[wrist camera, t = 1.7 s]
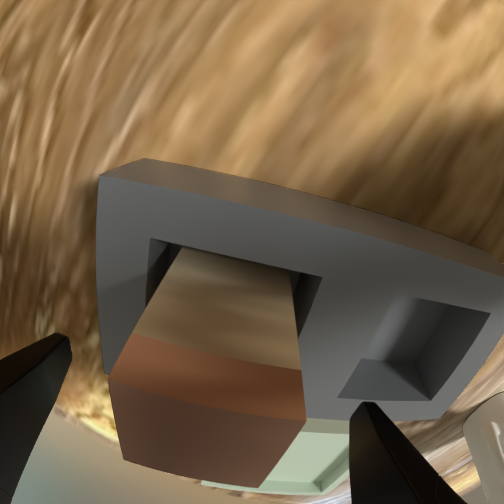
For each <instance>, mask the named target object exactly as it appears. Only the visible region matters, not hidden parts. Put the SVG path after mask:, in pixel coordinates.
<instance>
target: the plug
mask: <svg viewBox="0 0 504 504" xmlns="http://www.w3.org/2000/svg"><path fill="white" fill-rule="evenodd" d="M108 385H109V391H110V397H111V403H112V409H113V414H114V419H115V424H116V429H117V434H118V438H119V442H120V447H121V451H122V455H123V459H124V460H126V461H129V462H132V463H135V464H139V465H142V466H145V467H149V468H152V469H156V470H160V471H163V472H167V473H171V474H176V475H180V476H184V477H189V478H194V479H199V480H204V481H209V482H215V483H221V484H228V485H235V486H242V487H251V488H259V487H260V485H261V484H262V483H263V482H264V480H265V479H266V478H267V476H268V475H269V474H270V473H271V471H272V470H273V469H274V467H275V466H276V465H277V463H278V462H279V460H280V459H281V458H282V456H283V455H284V454H285V452H286V451H287V449H288V448H289V447H290V445H291V444H292V442H293V441H294V439H295V438H296V436H297V435H298V434H299V432H300V431H301V429H302V428H303V426H304V425H305V423H306V421H307V419H306V409H305V399H304V390H303V380H302V371H301V363H300V354H299V345H298V337H297V329H296V321H295V313H294V305H293V298H292V290H291V283H290V276H289V269H284V268H280V267H275V266H271V265H267V264H262V263H258V262H253V261H249V260H244V259H240V258H236V257H231V256H227V255H223V254H218V253H214V252H209V251H205V250H201V249H196V248H192V247H188V246H183V247H182V249H181V250H180V252H179V253H178V255H177V257H176V258H175V260H174V262H173V263H172V265H171V266H170V268H169V270H168V271H167V273H166V275H165V276H164V278H163V280H162V281H161V283H160V285H159V286H158V288H157V290H156V292H155V293H154V295H153V297H152V298H151V300H150V302H149V304H148V305H147V307H146V309H145V311H144V312H143V314H142V316H141V318H140V319H139V321H138V323H137V325H136V326H135V328H134V330H133V332H132V334H131V335H130V337H129V339H128V341H127V343H126V345H125V346H124V348H123V350H122V352H121V354H120V356H119V357H118V359H117V361H116V363H115V365H114V367H113V369H112V371H111V373H110V374H109V376H108Z"/></svg>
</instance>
